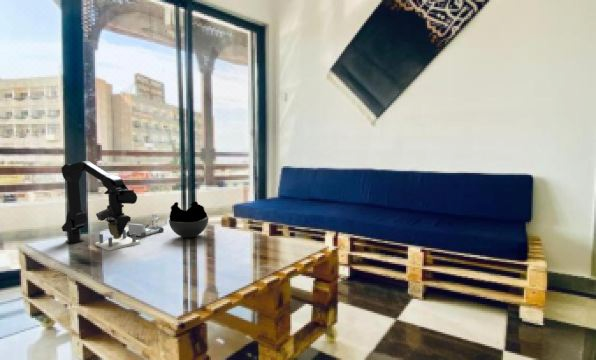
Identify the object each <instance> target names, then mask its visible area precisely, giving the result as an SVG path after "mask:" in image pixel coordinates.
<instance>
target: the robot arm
mask: <svg viewBox="0 0 596 360" xmlns="http://www.w3.org/2000/svg"><path fill="white" fill-rule="evenodd" d="M83 172H86V173H87V174H90V175H91V176H93V177H94V178H96V179H97V180H98V181H100V182H101V184H102V186H104V188H105V189H107V190H106V191H104V193H103V194H104V195H107V197H108V205H107V206H106V209H103V210H101V211H98V212H96V214H95V215H96V217H97V220H98V221H100V222H101V221H102V222H104V221H105V222H107V224H108V223H109V224H111V222H115V223H114V224H115V225H117V229H118V234H119V236H123V234H122V233H123V231H124V230H126V229H125V228H126V227H127V226H128V224H129V222H132V221H131V220H132V219H131V216H129V215H127V214H125V213H124V212H123V208H124V207H125V206H124V205H125V204H126V205H127V204H128V205H129V204H130V205H133V204H136V203H137V200H138V195H137V193H136V192H134V191H135V190H134V189H128V187H127V185H126V184H125V182H124V181H123V178H121V177H120V176H116V175H114V174H110V173H107V172H106V171H105V170H103V169H102V168H100V167H99V166H97V165H95V164H93V163H92V162H91V161H90V160H82V161H79V162H75V163H67V164H64V165H63V166H62V167H61V175H62V177H63V179H64V180H65V182H66V185H67V187H66V188H67V195H68V196H67V197H68V207H69V210H68V212H67V214H66V217H65V222H64V224H63V225H62V226H61V230H62V232H64V233H65V232H66V234H67V235H66V236H67V239H66V240H65V243H67V244H70V245H71V244H74V243H80V242H84V239H82V237H81V234H82V233H81V229H85V226H86V223H87V220H88V218H87V212H84V211H83V210H82V204H81V203H82V202H81V193H80V190H81V189H80V180H81V178H82V175H83Z"/></svg>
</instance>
